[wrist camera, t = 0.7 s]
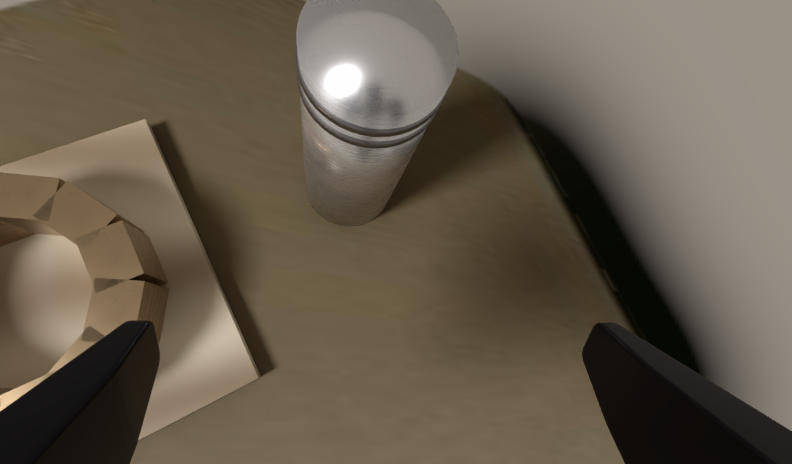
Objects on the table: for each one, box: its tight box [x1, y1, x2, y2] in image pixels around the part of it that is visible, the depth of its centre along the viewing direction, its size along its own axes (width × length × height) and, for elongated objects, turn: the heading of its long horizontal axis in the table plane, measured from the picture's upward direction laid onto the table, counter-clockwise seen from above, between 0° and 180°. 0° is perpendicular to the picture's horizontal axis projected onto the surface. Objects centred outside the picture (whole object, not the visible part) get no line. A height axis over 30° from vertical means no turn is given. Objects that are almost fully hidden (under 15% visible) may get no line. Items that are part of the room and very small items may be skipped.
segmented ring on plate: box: [0, 119, 261, 440], centre depth 19 cm, size 14×14×1 cm
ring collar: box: [0, 172, 169, 411], centre depth 17 cm, size 10×10×3 cm
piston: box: [296, 0, 459, 226], centre depth 18 cm, size 5×5×12 cm
